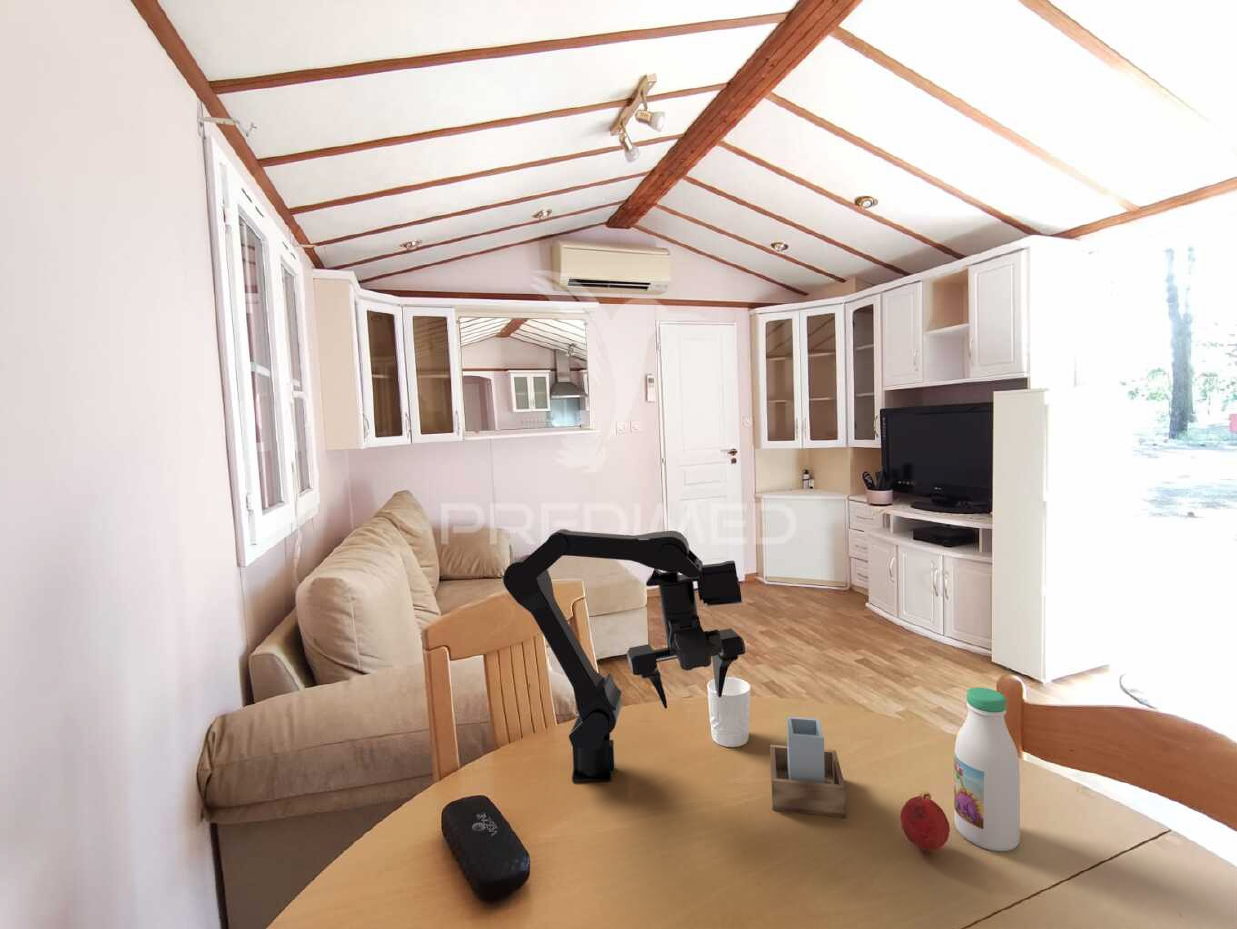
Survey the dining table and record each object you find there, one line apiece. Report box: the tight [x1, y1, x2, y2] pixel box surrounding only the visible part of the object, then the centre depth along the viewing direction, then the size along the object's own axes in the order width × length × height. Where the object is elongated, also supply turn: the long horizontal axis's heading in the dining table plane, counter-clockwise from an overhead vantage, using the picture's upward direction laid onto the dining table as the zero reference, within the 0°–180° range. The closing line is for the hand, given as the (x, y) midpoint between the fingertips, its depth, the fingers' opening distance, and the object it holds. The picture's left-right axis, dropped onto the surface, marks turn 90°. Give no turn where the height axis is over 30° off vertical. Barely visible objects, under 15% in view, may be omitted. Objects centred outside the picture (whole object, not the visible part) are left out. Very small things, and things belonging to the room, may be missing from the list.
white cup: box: [706, 676, 751, 748], centre depth 109 cm, size 8×8×10 cm
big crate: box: [769, 744, 847, 819], centre depth 92 cm, size 10×10×4 cm
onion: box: [899, 791, 951, 852], centre depth 78 cm, size 6×6×8 cm
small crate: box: [786, 716, 825, 783], centre depth 91 cm, size 5×6×10 cm
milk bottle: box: [953, 687, 1021, 852], centre depth 81 cm, size 8×8×20 cm
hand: (692, 701), depth 96 cm, fingers open, 9 cm apart
